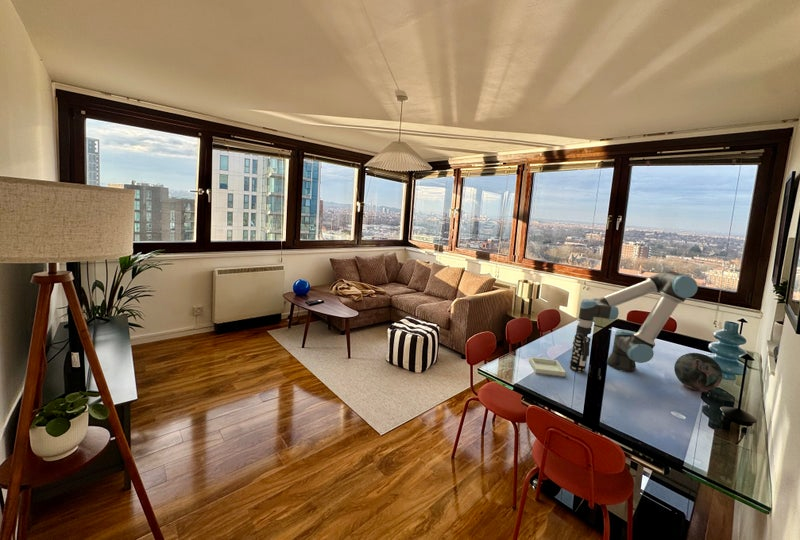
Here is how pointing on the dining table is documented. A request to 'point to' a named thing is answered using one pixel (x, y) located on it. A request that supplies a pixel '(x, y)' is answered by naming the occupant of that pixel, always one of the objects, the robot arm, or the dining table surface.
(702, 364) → the decorative sphere
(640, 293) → the robot arm
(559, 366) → the tray
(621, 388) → the dining table surface
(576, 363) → the spotted tube
